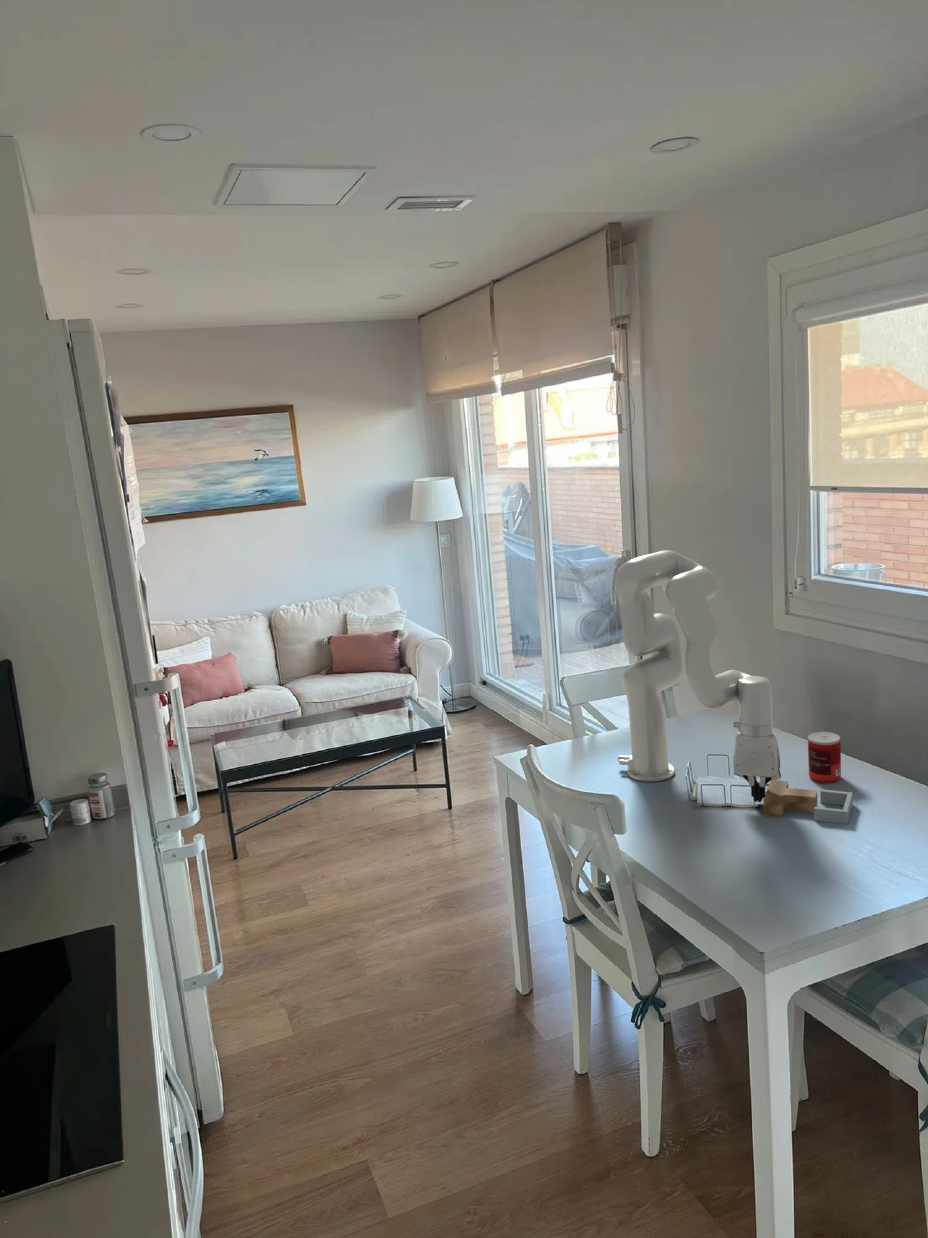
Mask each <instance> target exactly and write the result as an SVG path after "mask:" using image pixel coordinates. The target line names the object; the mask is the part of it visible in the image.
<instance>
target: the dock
mask: <svg viewBox="0 0 928 1238" xmlns="http://www.w3.org/2000/svg"><path fill="white" fill-rule="evenodd" d="M819 793H820V795H819V796H820V797H819V798H820V804H826V805H828V804H829V805H836V806H838V805H839V806H843V808H842V809H839V808H831V807H821V806H817V807H815V808H814V813H813V814H814V822H824V823H832V824H833V823H834V824H840V825H841V824H842V825H848V824H849V821H850V817H851V813H852V809H853V805H854V803H853V801H854V800H853V798H854V797H853V796H854V795H853V793H854V792H852V791H851V792H849V791H839V790H829V789H820V792H819Z"/></svg>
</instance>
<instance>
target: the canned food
mask: <svg viewBox="0 0 928 1238" xmlns="http://www.w3.org/2000/svg"><path fill="white" fill-rule="evenodd" d="M841 745H842V743H841V736H840V735H839V734H837V733H834V732H830V731H815V732H813V733H810V734H808V736H807V757H808V758H807V759H808V762H807V763H808V776H809V779H810V780H812V781H814V782H816V783H820V784H833V783H837V782H838V781H839V780H840V779H841V777H842V762H841V761H842V760H841V759H842V758H841V757H842V756H841V754H842V753H841V752H842V751H841V750H842V749H841V747H842V746H841Z"/></svg>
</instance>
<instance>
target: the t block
mask: <svg viewBox="0 0 928 1238" xmlns="http://www.w3.org/2000/svg"><path fill="white" fill-rule="evenodd" d="M762 801H763V816H764V817H773V818H783V815H784V812H785V811H786V812H787V811H789V812H797V813H798V812H800V813H811V814H814V808H815V807H818V790H817V789H815V790H814V789H805V788H804V789H803V788H791V787H789V781H787V780H771V781H769V785H768V787H767V789H766V791H765V797H764V798H763V799H762Z"/></svg>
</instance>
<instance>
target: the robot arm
mask: <svg viewBox="0 0 928 1238" xmlns="http://www.w3.org/2000/svg"><path fill="white" fill-rule="evenodd" d="M615 574H616V575H615V578H614V579H615V581H614V585H615V592H616V596H617V599H618V603H619V609H620V610H619V611H620V621H621V627H622V637H623V643H624V648H625V649H626V651H627V652H628V654H629V655H631V656H634V657H642V656H646V655H650V654H651V656H648V657H645V658H642V659H639V660H637V661H635V662H633V663H631V664H630V665H629V666H627V668H626V669H625V670H624V673H623V676H622V683H623V684H622V685H623V688H624V692H625V695H626V699H627V706H628V719H629V729H630V744H631V745H630V746H631V754H630V755H625V754H618V756H617V761H618V762H619V765H620V766H622V765H623V766H627V769H626V771H627V773H626V775H628V777H630V778H631V779H633V780H636V781H639V782H650V783H651V782H660V781H665V780H668V779H670V778H671V777H673V776H674V775H675V774H676V773H675V770H676V769H675V767H674V765H673V764H671V763H670V762H669V755H668V753H669V752H668V750H669V749H668V734H667V717H666V708H665V705H664V703H663V701H662V699H661V698H660V695H659V694H660V692H662V691H665V690H667V689H670V688H672V687H673V686H676V685H677V684H678V683H679V682H680V681H681V679H682V676H683V660H682V659H683V658H682V651H681V640H680V633H679V629H678V626H677V625H676V622H675V621H674V620H673V618H671V616H669V615H667V614H665V613H655V612H654V604H653V600H652V598H651V596H650V594H649V593H648V591H647V590H649V589H652V588H656V587H660V586H663V585H665V594H666V597H667V599H668V601H669V604H670V606H671V608H672V611H673V612H674V616H675V618H676V620H677V621H678V623H679V626H680V628H681V631H682V633H683V634H684V638H685V640H686V646H685V647H686V648H685V671H686V672H685V673H686V675H687V679H688V681H689V683H690V686H691V688H692V691H693V692H694V693H693V694H695V697H696V698H697V700H698V701H699V703H701V705H702V706H704V708H707V709H710V710H719V709H721V708H724V707H726V706H728V705H730V704H733V703H737V702H738V714H739V717H738V718H739V720H738V721H734V722H733V725H732V726H733V728H736V729H737V730H738V732H736V735H735V740H734V749H733V750H734V752H733V769H734V776H737V777H741V778H743V779H744V780H745V781H746V782H747V783H748V784H749V786H750V794H751V795H750V796H751V797H753V802H755V803H756V802H758V803H762V801H763V800H764V797H765V795H766V785H767V784H768V783H770V781H771V780H777V781H780V779H781V778H782V774H781V771H780V769H781V757H780V756H781V755H780V748H779V742H778V737H777V734H776V732H774V728H773V727H774V725H773V722H774V721H773V691H772V690H773V689H772V682H771V681H770V679H769V678H767V677H765V676H760V675H752V674H751V675H750V674H749V673H746V672H744V671H741V670H737V669H730V670H729V669H728V670H725V671H723V672H721V673H719V674H716V675H715V674H714V671H713V669H712V665H711V661H710V655H711V654H710V652H711V648H712V645H713V644H714V641H715V639H716V637H717V635H718V634H719V631H720V625H719V622H718V620H717V618H716V616H715V614H714V611H713V609H712V607H711V606H710V603H709V600H711V599H713V598H714V597H715V596H716V595H717V594H718V591H719V583H718V580H717V577H716V576H715V574H714V573H713V572H712V571H711V570H709V569H708V568H707V567H705V566H703V565H701V564H700V563H698V562H696V561H694V560H693V559H691V558H688V557H686V556H685V555H684V554H682V553H679V552H677V551H675V550H670V549H669V550H659V551H657V552H653V553H652V552H651V553H648V554H644V555H641V556H637V557H635V558H632V559H630V560H627V561H626V562H624V563H623V564H621V566H619V568H618V570H617V572H616V573H615ZM757 777H759V781H758V780H757V779H758V778H757Z"/></svg>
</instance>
